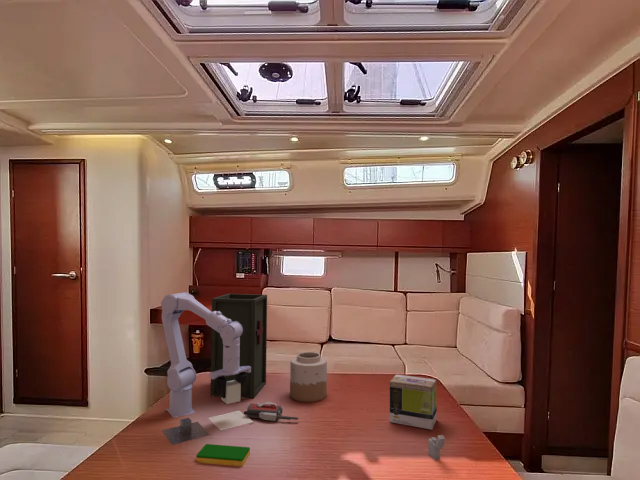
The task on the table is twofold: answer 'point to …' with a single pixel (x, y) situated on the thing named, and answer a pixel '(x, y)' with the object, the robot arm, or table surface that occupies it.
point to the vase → (308, 377)
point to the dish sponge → (223, 455)
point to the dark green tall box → (243, 339)
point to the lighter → (436, 446)
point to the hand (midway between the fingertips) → (230, 395)
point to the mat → (230, 420)
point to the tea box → (413, 401)
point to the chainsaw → (266, 411)
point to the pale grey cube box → (232, 392)
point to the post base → (185, 432)
